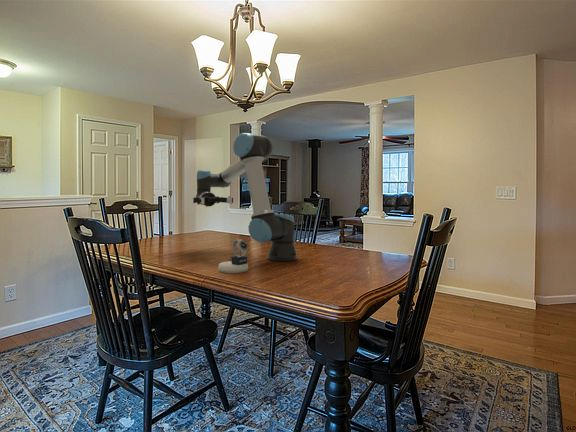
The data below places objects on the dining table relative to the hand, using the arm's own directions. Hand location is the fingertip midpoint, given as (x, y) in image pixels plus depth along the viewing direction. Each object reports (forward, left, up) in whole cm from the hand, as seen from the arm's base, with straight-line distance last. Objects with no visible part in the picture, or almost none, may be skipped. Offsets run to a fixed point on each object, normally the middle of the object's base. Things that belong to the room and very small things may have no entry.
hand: (217, 201), depth 176 cm
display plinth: (-7, +17, -30) cm, 35 cm away
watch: (-10, +16, -28) cm, 33 cm away
